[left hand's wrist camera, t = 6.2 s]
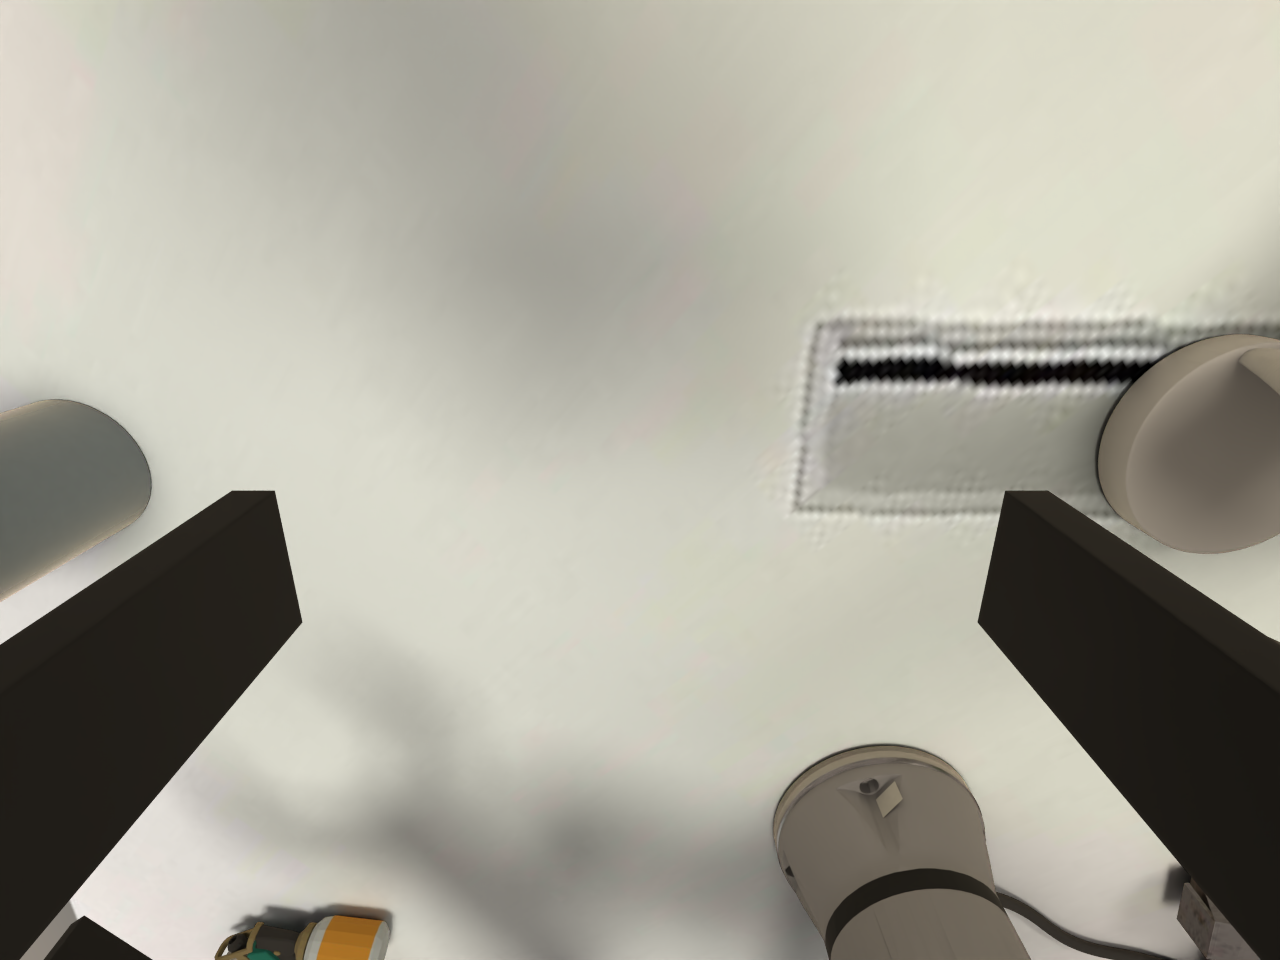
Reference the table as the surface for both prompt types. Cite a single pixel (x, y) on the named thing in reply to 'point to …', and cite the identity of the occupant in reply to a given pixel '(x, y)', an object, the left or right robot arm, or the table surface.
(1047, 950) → the table surface
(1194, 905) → the toy
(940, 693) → the table surface
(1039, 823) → the table surface
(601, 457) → the table surface
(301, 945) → the spray gun
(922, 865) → the right robot arm
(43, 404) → the jar
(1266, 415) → the bust sculpture
